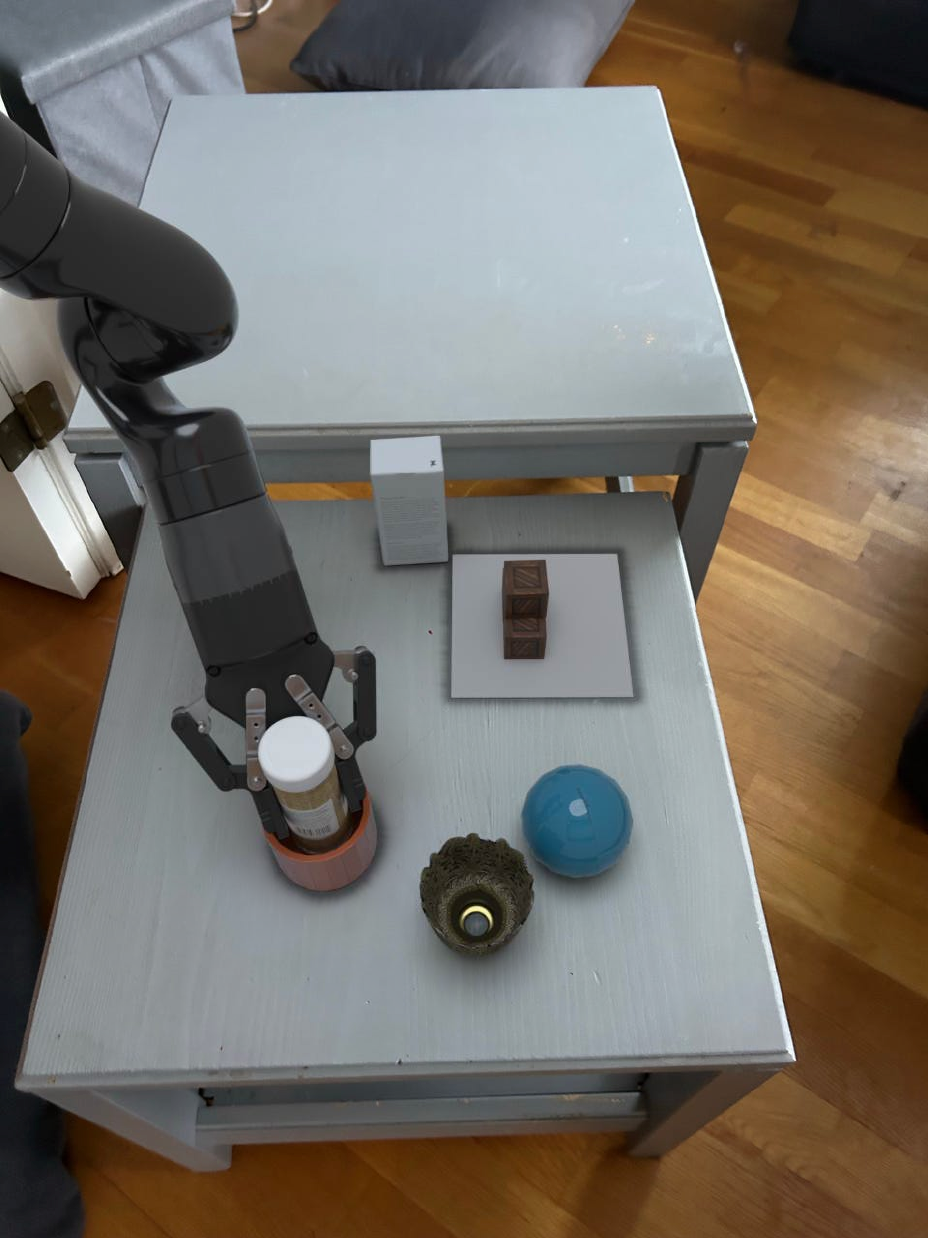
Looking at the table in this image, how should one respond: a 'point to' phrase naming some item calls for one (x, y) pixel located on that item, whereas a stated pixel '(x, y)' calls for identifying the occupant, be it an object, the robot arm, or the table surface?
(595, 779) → the ball
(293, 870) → the pot
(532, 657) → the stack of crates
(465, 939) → the cup
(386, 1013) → the table surface
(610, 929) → the table surface
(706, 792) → the table surface
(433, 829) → the table surface
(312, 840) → the sprinkles bottle
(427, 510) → the cosmetic box
